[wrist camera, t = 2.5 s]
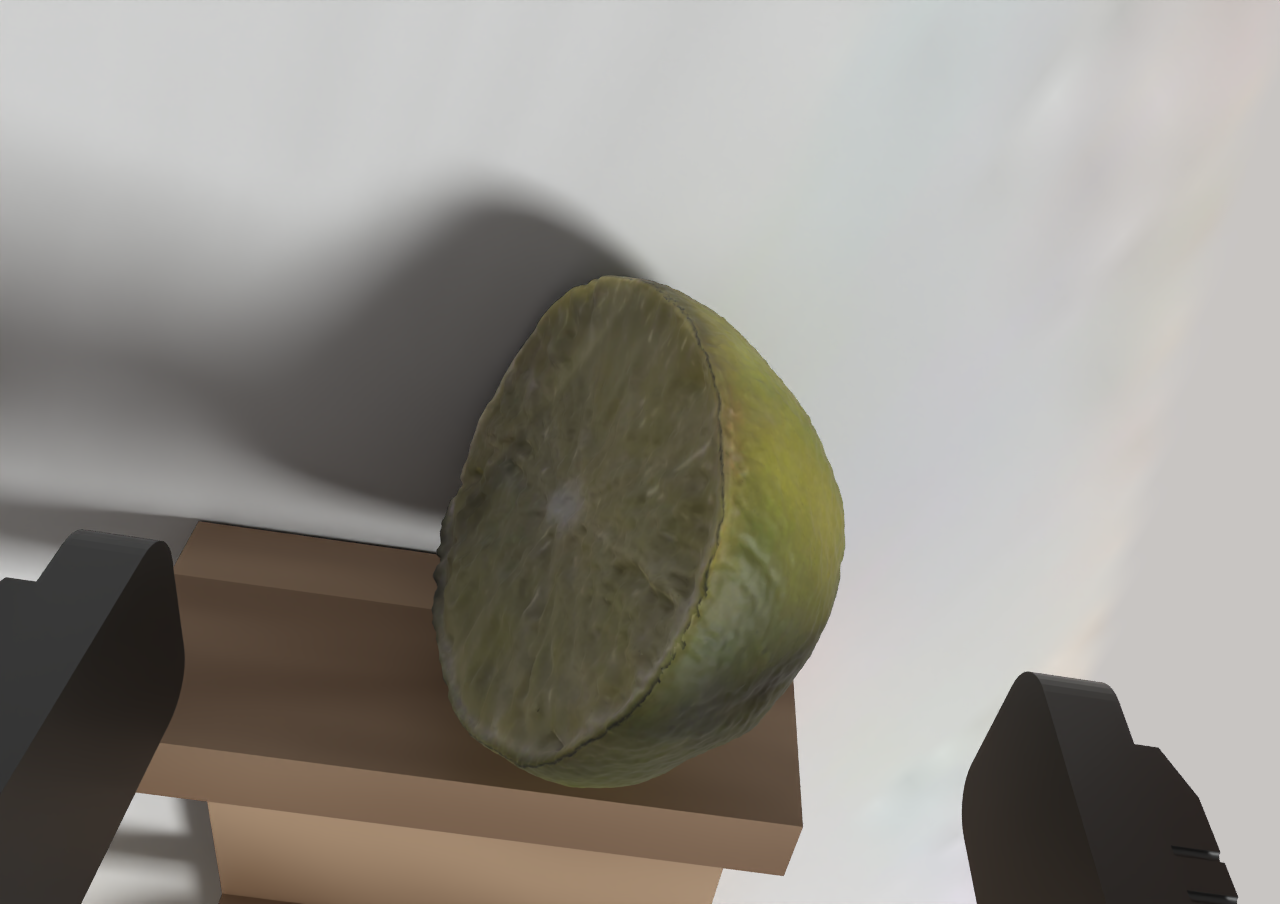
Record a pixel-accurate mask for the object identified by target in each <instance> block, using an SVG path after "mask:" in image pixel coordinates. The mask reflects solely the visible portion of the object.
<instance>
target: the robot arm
mask: <svg viewBox="0 0 1280 904" xmlns="http://www.w3.org/2000/svg"><path fill="white" fill-rule="evenodd" d="M184 668H185V650H184V642H183V635H182V628H181V620H180V613H179V605H178V598H177V591H176V583H175V576H174V569H173V561H172V555H171V551H170V549H169V547H168V545H167V544H166V543H165V542H164V541H158V540H151V539H144V538H137V537H130V536H124V535H117V534H110V533H103V532H97V531H90V530H83V529H81V530H77V531H75V532H74V533H72V534H71V535H70V536H69V537H68V538H67V539H66V540H65V542H64V543H63V544H62V546H61V547H60V549H59V550H58V551H57V553H56V554H55V556H54V557H53V559H52V560H51V562H50V563H49V564H48V566H47V567H46V569H45V570H44V572H43V573H42V575H41V576H40V577H39V579H38V580H37V582H34V581H28V580H21V579H14V578H7V577H6V578H4V579H3V580H1V581H0V904H81V903H82V901H83V899H84V897H85V895H86V893H87V891H88V889H89V887H90V884H91V882H92V880H93V878H94V876H95V874H96V872H97V870H98V868H99V866H100V864H101V862H102V860H103V858H104V856H105V854H106V852H107V850H108V848H109V846H110V844H111V842H112V840H113V837H114V835H115V833H116V831H117V829H118V827H119V825H120V823H121V821H122V819H123V817H124V815H125V813H126V811H127V809H128V807H129V805H130V803H131V801H132V799H133V797H134V795H135V793H136V790H137V788H138V786H139V784H140V782H141V780H142V778H143V776H144V774H145V772H146V770H147V768H148V766H149V764H150V762H151V760H152V758H153V756H154V754H155V752H156V750H157V748H158V746H159V743H160V741H161V739H162V737H163V735H164V733H165V731H166V729H167V727H168V725H169V723H170V721H171V719H172V716H173V714H174V711H175V709H176V706H177V703H178V699H179V696H180V692H181V687H182V682H183V676H184ZM962 827H963V834H964V840H965V845H966V850H967V855H968V860H969V866H970V871H971V876H972V881H973V886H974V891H975V896H976V901H977V904H1237V899H1238V895H1237V893H1236V891H1235V888H1234V885H1233V883H1232V880H1231V878H1230V875H1229V873H1228V870H1227V868H1226V865H1225V863H1221V862H1220V860H1219V854H1220V850H1219V848H1218V845H1217V842H1216V840H1215V838H1214V835H1213V832H1212V830H1211V828H1210V825H1209V822H1208V820H1207V817H1206V815H1205V812H1204V810H1203V807H1202V805H1201V802H1200V800H1199V798H1198V796H1197V795H1196V794H1195V793H1194V791H1193V790H1192V789H1191V788H1190V786H1189V785H1188V784H1187V783H1186V782H1185V780H1184V779H1183V778H1182V776H1181V775H1180V774H1179V773H1178V771H1177V770H1176V769H1175V768H1174V767H1173V765H1172V764H1171V763H1170V761H1169V760H1168V759H1167V758H1166V756H1165V755H1164V754H1163V753H1162V752H1161V750H1160V749H1159V748H1156V747H1150V746H1143V745H1135V744H1134V742H1133V739H1132V737H1131V734H1130V731H1129V728H1128V725H1127V723H1126V720H1125V717H1124V714H1123V712H1122V709H1121V706H1120V703H1119V701H1118V699H1117V696H1116V694H1115V693H1114V691H1113V690H1112V688H1110V686H1109V685H1107V684H1105V683H1102V682H1095V681H1088V680H1081V679H1075V678H1068V677H1061V676H1054V675H1047V674H1041V673H1034V672H1024V673H1022V674H1021V675H1019V677H1018V678H1017V679H1016V680H1015V682H1014V684H1013V685H1012V687H1011V689H1010V691H1009V693H1008V695H1007V697H1006V699H1005V701H1004V703H1003V705H1002V706H1001V708H1000V710H999V712H998V714H997V716H996V718H995V720H994V722H993V724H992V726H991V728H990V730H989V732H988V733H987V735H986V737H985V739H984V741H983V743H982V745H981V747H980V749H979V751H978V753H977V755H976V757H975V759H974V760H973V762H972V764H971V767H970V769H969V771H968V774H967V777H966V781H965V786H964V792H963V800H962Z"/></svg>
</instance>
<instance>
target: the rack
mask: <svg viewBox="0 0 1280 904" xmlns="http://www.w3.org/2000/svg"><path fill="white" fill-rule="evenodd" d="M439 563H440V558H439V557H438V556H437V554H431V553H423V552H416V551H409V550H402V549H395V548H387V547H380V546H373V545H366V544H359V543H351V542H344V541H337V540H330V539H323V538H315V537H308V536H301V535H294V534H287V533H279V532H272V531H265V530H258V529H251V528H243V527H236V526H229V525H222V524H215V523H207V522H200V521H198V523H197V525H196V527H195V529H194V531H193V532H192V534H191V536H190V538H189V540H188V542H187V543H186V545H185V547H184V549H183V551H182V553H181V554H180V556H179V558H178V560H177V562H176V564H175V565H174V567H173V569H174V576H175V583H176V591H177V598H178V605H179V613H180V620H181V628H182V635H183V642H184V650H185V668H184V676H183V682H182V687H181V692H180V696H179V699H178V703H177V706H176V709H175V711H174V714H173V716H172V719H171V721H170V723H169V725H168V727H167V729H166V731H165V733H164V735H163V737H162V739H161V741H160V743H159V746H158V748H157V750H156V752H155V754H154V756H153V758H152V760H151V762H150V764H149V766H148V768H147V770H146V772H145V774H144V776H143V778H142V780H141V782H140V784H139V786H138V788H137V790H136V792H137V793H145V794H152V795H160V796H168V797H176V798H183V799H191V800H199V801H207V803H208V809H209V816H210V822H211V828H212V834H213V840H214V846H215V852H216V859H217V865H218V871H219V877H220V883H221V889H222V895H221V898H220V901H219V903H218V904H712V901H713V898H714V894H715V891H716V888H717V885H718V882H719V879H720V876H721V873H722V870H723V868H726V869H733V870H741V871H749V872H757V873H764V874H772V875H780V876H784V874H785V871H786V869H787V866H788V864H789V861H790V859H791V856H792V854H793V851H794V848H795V846H796V843H797V841H798V838H799V836H800V833H801V830H802V828H803V822H802V806H801V791H800V776H799V761H798V745H797V730H796V715H795V699H794V684H793V681H792V683H791V684H790V686H789V687H788V688H787V690H786V691H785V692H784V694H783V695H782V696H781V697H780V698H779V699H778V700H777V701H776V702H775V704H774V705H773V706H772V708H771V709H770V710H769V711H768V712H767V713H766V714H765V716H764V717H763V718H762V719H761V720H760V722H759V723H758V725H757V726H755V727H754V728H753V729H752V730H751V731H749V732H748V733H745V734H744V735H742V736H741V737H739V738H735V739H733V740H731V741H730V742H728V743H726V744H724V745H721V746H718V747H716V748H714V749H711V750H708V751H707V752H705V753H703V754H699V755H697V756H696V757H693V758H691V759H688V760H686V761H685V762H683V763H681V764H680V765H678V766H676V767H675V768H673V769H671V770H670V771H668V772H667V773H665V774H662V775H660V776H658V777H655V778H652V779H650V780H648V781H645V782H642V783H639V784H636V785H630V786H624V787H615V788H578V787H568V786H564V785H561V784H558V783H555V782H551V781H546V780H544V779H542V778H540V777H537V776H535V775H532V774H530V773H528V772H526V771H524V770H522V769H520V768H518V767H516V766H515V765H514V764H512V763H511V762H509V761H508V760H506V759H505V758H504V757H502V756H500V755H499V754H496V753H494V752H492V751H491V750H490V749H488V748H486V747H484V746H483V745H482V744H481V743H479V742H478V741H477V740H476V739H474V738H473V737H471V736H470V735H469V733H468V731H467V730H466V729H465V728H464V727H463V726H462V724H461V722H460V721H459V718H458V717H457V716H456V714H455V712H454V711H453V708H452V705H451V703H450V701H449V699H448V692H449V689H448V686H447V685H446V683H445V682H444V680H443V675H442V666H441V663H440V661H439V650H438V645H437V641H436V631H435V629H434V626H433V624H432V620H433V614H432V610H431V609H432V606H433V603H434V598H433V597H434V594H435V591H436V590H437V584H436V582H435V580H434V578H433V573H434V571H435V569H436V566H437V565H438V564H439Z"/></svg>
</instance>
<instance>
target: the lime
mask: <svg viewBox="0 0 1280 904" xmlns="http://www.w3.org/2000/svg"><path fill="white" fill-rule="evenodd" d="M460 480H461V482H462V484H463V485H462V487H460V488H459V490H458V493H457V495H456V496H455V497H454V498H452V499H451V501H450V503H449V506H448V509H447V512H446V514H445V517H444V519H443V521H442V524H441V525H442V528H441V530H440V539H441V544H440V546H439V548H438V549H437V556H438V557H439V558H440V563H439V564H438V565H437V566H436V569H435V571H434V573H433V578H434V580H435V582H436V584H437V590H436V591H435V594H434V597H433V598H434V603H433V606H432V609H431V610H432V614H433V620H432V624H433V626H434V629H435V631H436V641H437V645H438V650H439V661H440V663H441V666H442V675H443V680H444V682H445V683H446V685H447V686H448V689H449V692H448V699H449V701H450V703H451V705H452V708H453V711H454V712H455V714H456V716H457V717H458V718H459V721H460V722H461V724H462V726H463V727H464V728H465V729H466V730H467V731H468V733H469V735H470V736H471V737H473V738H474V739H476V740H477V741H478V742H479V743H481V744H482V745H483V746H484V747H486V748H488V749H490V750H491V751H492V752H494V753H496V754H499V755H500V756H502V757H504V758H505V759H506V760H508V761H509V762H511V763H512V764H514V765H515V766H516V767H518V768H520V769H522V770H524V771H526V772H528V773H530V774H532V775H535V776H537V777H540V778H542V779H544V780H546V781H551V782H555V783H558V784H561V785H564V786H568V787H578V788H615V787H624V786H630V785H636V784H639V783H642V782H645V781H648V780H650V779H652V778H655V777H658V776H660V775H662V774H665V773H667V772H668V771H670V770H671V769H673V768H675V767H676V766H678V765H680V764H681V763H683V762H685V761H686V760H688V759H691V758H693V757H696V756H697V755H699V754H703V753H705V752H707V751H708V750H711V749H714V748H716V747H718V746H721V745H724V744H726V743H728V742H730V741H731V740H733V739H735V738H739V737H741V736H742V735H744V734H745V733H748V732H749V731H751V730H752V729H753V728H754V727H755V726H757V725H758V723H759V722H760V720H761V719H762V718H763V717H764V716H765V714H766V713H767V712H768V711H769V710H770V709H771V708H772V706H773V705H774V704H775V702H776V701H777V700H778V699H779V698H780V697H781V696H782V695H783V694H784V692H785V691H786V690H787V688H788V687H789V686H790V684H791V683H792V681H793V680H794V678H795V677H796V675H797V674H798V672H799V671H800V670H801V669H802V667H803V666H804V664H805V663H806V661H807V660H808V658H809V657H810V656H811V654H812V651H813V650H814V648H815V646H816V643H817V642H818V640H819V638H820V635H821V633H822V631H823V630H824V628H825V626H826V624H827V621H828V619H829V616H830V614H831V610H832V607H833V604H834V600H835V598H836V594H837V590H838V585H839V581H840V564H841V562H842V560H843V556H844V550H845V534H844V527H845V525H844V510H843V502H842V498H841V494H840V491H839V487H838V485H837V483H836V481H835V478H834V474H833V470H832V467H831V465H830V463H829V461H828V459H827V457H826V454H825V452H824V449H823V445H822V443H821V441H820V439H819V437H818V435H817V433H816V430H815V428H814V427H813V426H812V424H811V420H810V417H809V416H808V415H807V414H806V412H805V411H804V409H803V408H802V407H801V405H800V403H799V402H798V400H797V399H796V398H795V396H794V395H793V394H792V392H791V391H790V390H789V389H788V388H787V387H786V386H785V384H784V383H783V381H782V379H780V378H779V377H778V376H777V375H776V373H775V372H774V371H773V370H772V369H771V368H770V366H769V365H768V363H767V362H766V360H764V359H763V358H762V357H761V355H760V354H759V353H758V352H757V350H756V349H755V348H754V347H753V346H751V345H750V344H749V342H748V341H747V340H746V339H745V338H744V337H743V336H742V335H741V334H740V333H739V332H738V331H737V330H736V329H734V327H733V326H732V325H730V324H729V323H728V322H727V321H726V320H725V319H724V318H723V317H720V316H719V315H718V314H717V313H715V312H714V311H713V310H711V309H710V308H708V307H707V306H705V305H702V304H700V303H699V302H697V301H696V300H693V299H692V298H691V297H689V296H687V295H685V294H684V293H682V292H680V291H678V290H675V289H672V288H671V287H669V286H667V285H663V284H659V283H656V282H654V281H650V280H645V279H640V278H631V277H620V276H616V275H607V276H602V277H600V278H599V279H593V280H591V281H590V282H589V283H588V285H580V286H576V287H573V288H572V289H571V290H569V291H568V292H566V293H565V295H564V296H562V297H561V298H560V299H559V300H557V301H556V302H555V303H554V304H552V306H551V307H550V308H549V310H548V311H547V312H546V313H545V314H544V315H543V316H542V318H541V319H540V320H539V322H538V324H537V327H536V328H535V330H534V332H533V333H532V334H531V336H530V337H529V338H528V339H527V341H526V342H525V343H524V345H523V347H522V348H521V349H520V351H519V352H518V353H517V355H516V356H515V358H514V359H513V361H512V363H511V364H510V366H509V368H508V370H507V372H506V373H505V375H504V376H503V378H502V380H501V382H500V385H499V387H498V388H497V390H496V393H495V395H494V397H493V399H492V400H491V401H490V402H489V403H488V404H487V406H486V408H485V410H484V411H483V414H482V415H481V417H480V419H479V421H478V424H477V428H476V430H475V433H474V437H473V440H472V442H471V443H470V450H469V454H468V457H467V460H466V462H465V464H464V466H463V468H462V473H461V475H460Z"/></svg>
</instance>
